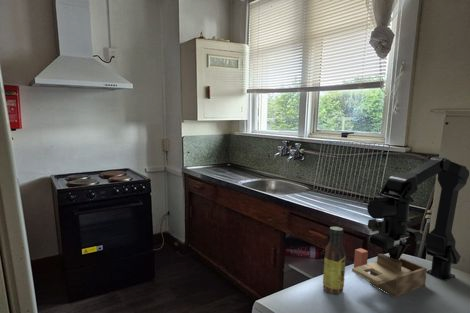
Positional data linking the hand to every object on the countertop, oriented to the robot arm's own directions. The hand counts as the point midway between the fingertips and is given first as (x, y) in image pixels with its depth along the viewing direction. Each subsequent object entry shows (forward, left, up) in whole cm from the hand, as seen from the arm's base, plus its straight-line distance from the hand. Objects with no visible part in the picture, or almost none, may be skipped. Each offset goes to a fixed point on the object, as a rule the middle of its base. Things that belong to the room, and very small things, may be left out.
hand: (393, 262), depth 98 cm
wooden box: (-3, 0, -8) cm, 9 cm away
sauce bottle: (+19, -7, -8) cm, 22 cm away
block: (+1, -11, -8) cm, 14 cm away
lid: (+6, 0, -2) cm, 6 cm away
